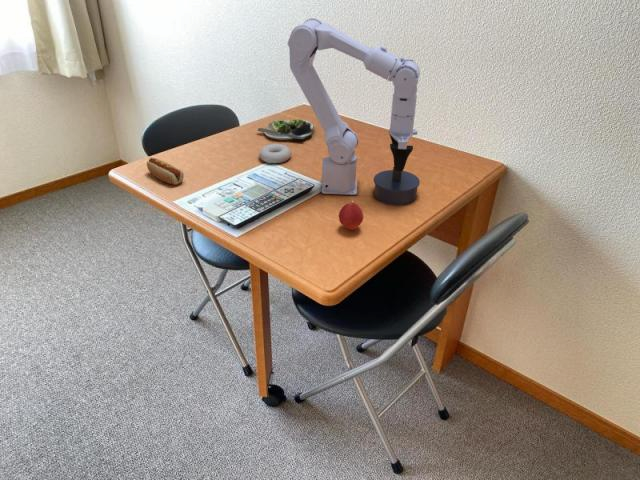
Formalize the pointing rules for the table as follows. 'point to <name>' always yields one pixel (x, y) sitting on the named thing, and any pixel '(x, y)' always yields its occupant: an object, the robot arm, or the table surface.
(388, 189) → the lid
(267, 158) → the donut
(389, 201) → the pot
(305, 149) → the table surface
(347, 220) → the onion
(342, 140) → the robot arm
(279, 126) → the salad plate
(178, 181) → the food
